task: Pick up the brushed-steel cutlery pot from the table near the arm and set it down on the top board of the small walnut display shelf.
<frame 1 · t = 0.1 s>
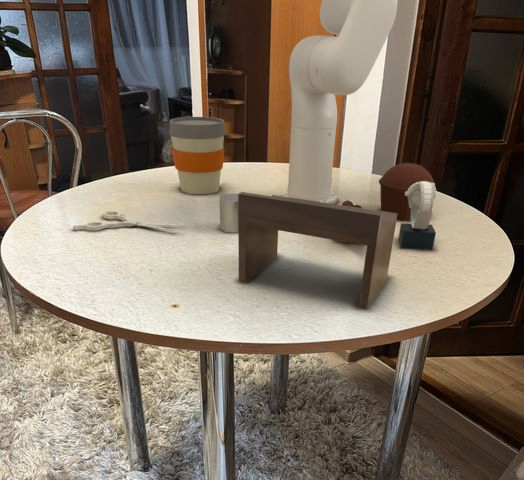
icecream: (349, 242, 94), on the table
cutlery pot: (233, 228, 98), on the table
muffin: (401, 215, 108), on the table
shelf: (313, 279, 79), on the table
reusable coffee cup: (200, 190, 121), on the table
scissors: (135, 226, 98), on the table
head sculpture: (414, 245, 93), on the table
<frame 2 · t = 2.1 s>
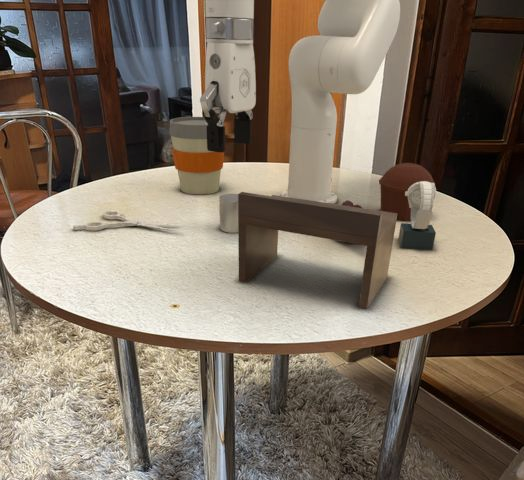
hand: (229, 147, 90), 15 cm above the table, tool pointing down, fingers open, 9 cm apart
nothing on the table moved.
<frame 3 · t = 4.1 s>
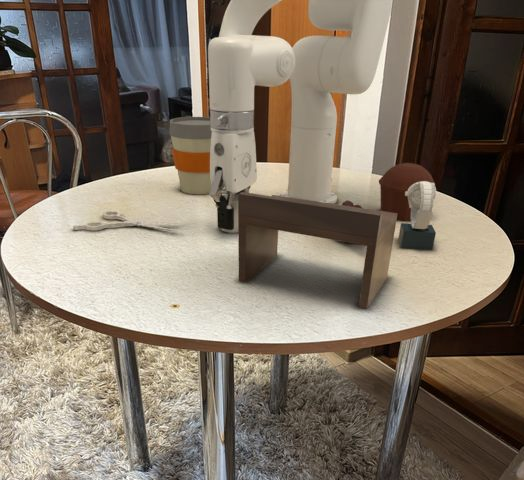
hand: (233, 223, 97), 1 cm above the table, tool pointing down, fingers closed on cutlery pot, 5 cm apart
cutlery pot: (233, 228, 98), on the table, touching gripper
everything else where it was.
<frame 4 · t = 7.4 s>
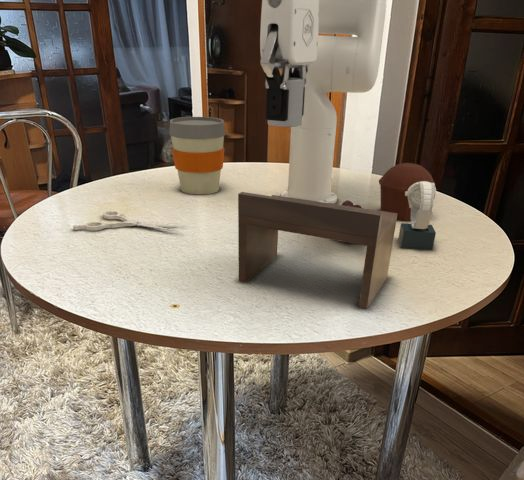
hand: (285, 116, 75), 22 cm above the table, tool pointing down, fingers closed on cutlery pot, 5 cm apart
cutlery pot: (284, 124, 75), point 21 cm above the table, touching gripper
everything else where it was.
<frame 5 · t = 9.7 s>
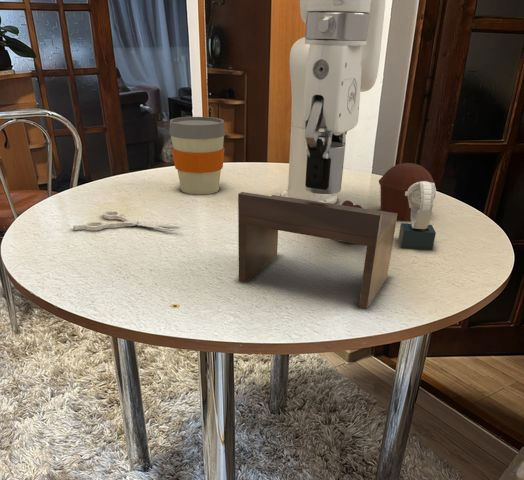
hand: (324, 182, 72), 15 cm above the table, tool pointing down, fingers closed on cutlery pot, 5 cm apart
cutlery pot: (323, 189, 72), point 14 cm above the table, touching gripper
everything else where it was.
when the fingers open (11 cm above the table, at t = 11.0 s): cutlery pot stays where it is, resting on shelf.
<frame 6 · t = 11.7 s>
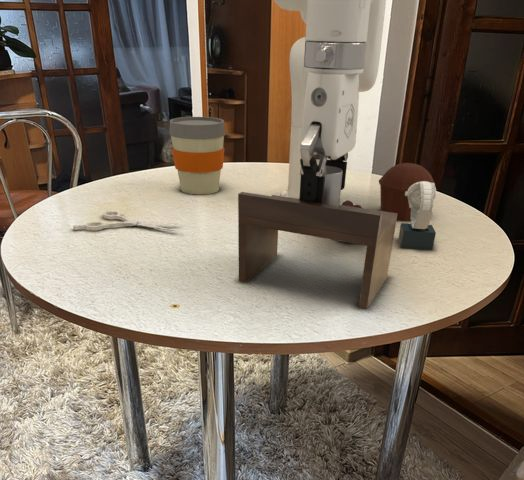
hand: (322, 196, 73), 12 cm above the table, tool pointing down, fingers open, 9 cm apart
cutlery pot: (321, 212, 74), point 10 cm above the table, touching shelf
everything else where it was.
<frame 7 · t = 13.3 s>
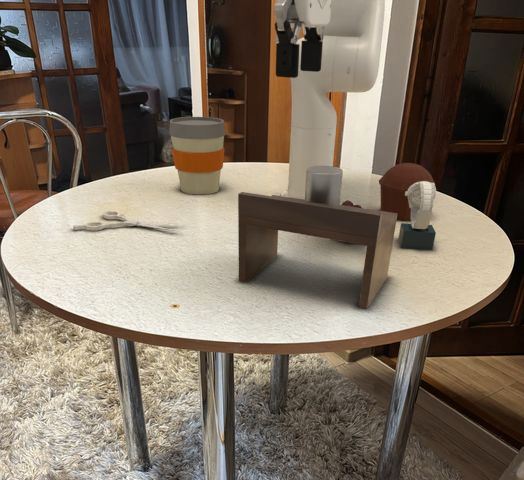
hand: (299, 73, 75), 27 cm above the table, tool pointing down, fingers open, 9 cm apart
nothing on the table moved.
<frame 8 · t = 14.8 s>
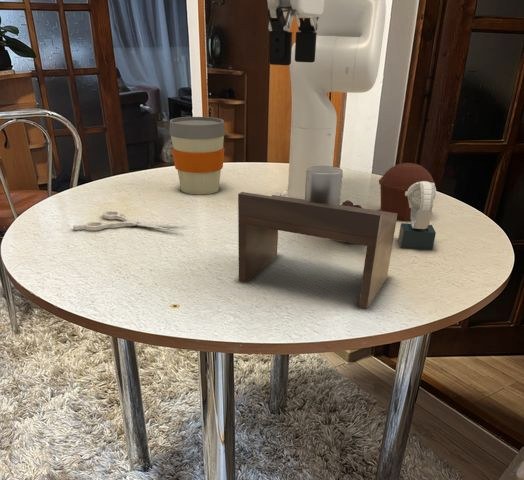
hand: (292, 63, 76), 28 cm above the table, tool pointing down, fingers open, 9 cm apart
nothing on the table moved.
at the end: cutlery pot inside the target area on the shelf (1.0 cm from its centre), point 10.2 cm above the shelf's base; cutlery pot tilted 0°; the gripper is holding nothing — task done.
